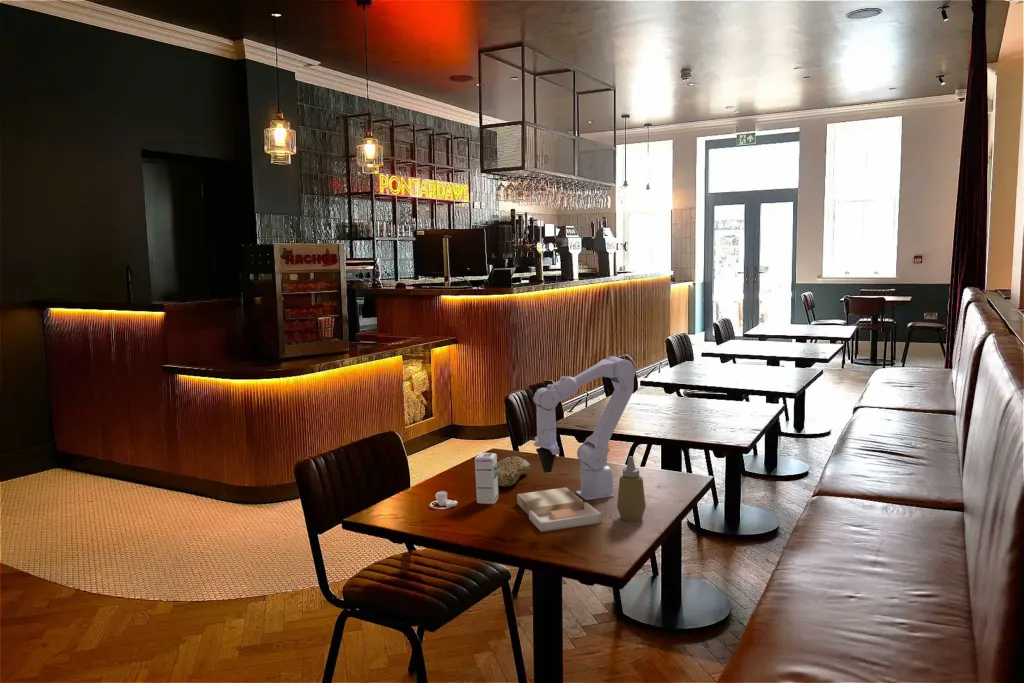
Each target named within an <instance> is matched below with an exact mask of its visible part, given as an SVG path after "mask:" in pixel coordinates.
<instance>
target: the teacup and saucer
mask: <svg viewBox="0 0 1024 683" xmlns="http://www.w3.org/2000/svg"><path fill="white" fill-rule="evenodd" d="M434 496H435V499H436V500H434V501H432V502H430V504H429V507H430V508H432V509H435V510H436V509H437V510H446V509H451V508H454V507H456V506H457V505H458V503H459V502H458V501H457V500H451V499H448V492H447V491H444V490H441V491H438V492H436V493H435V495H434ZM434 502H436V503H437V505H438V506H441V507H437V506H434V504H435V503H434ZM432 503H434V504H433V505H432ZM433 506H434V507H433ZM443 506H445V507H443Z"/></svg>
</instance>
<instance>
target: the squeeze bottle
mask: <svg viewBox="0 0 1024 683" xmlns="http://www.w3.org/2000/svg"><path fill="white" fill-rule="evenodd" d="M616 505H617V506H616V508H617V511H618V512H619V513H618V514H619V515H620V518H621V520H623V521H625V522H628V523H629V522H631V523H633V522H639V521H642V519H643V516H644V514H645V510H646V508H647V507H646V506H647V505H646V496H645V488H644V479H643V477H642V476H641V475H640V469H639V467H638V468H637V467H636V465H635V460H634V457H633V456H632V455H631V456H630V455H629V456H628V458H627V463H626V467H624V468H622V475H621V476H619V481H618V492H617V502H616Z"/></svg>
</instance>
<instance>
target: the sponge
mask: <svg viewBox="0 0 1024 683" xmlns="http://www.w3.org/2000/svg"><path fill="white" fill-rule="evenodd" d="M531 467H532V466H531V463H529V461H528V460H526V459H524V458H522V457H520V456H518V455H517V456H516V455H511V456H507V457H505V458H503V459H500V460H499V461H497V473H498V487H499V486H500V487H504V488H505V487H510V486H511V487H512V486H513V485H514V484H516V483H517V481H518V480H519V479H520V477H521V476H522V475H525V474H527V472H528V471H529V470H530V468H531Z"/></svg>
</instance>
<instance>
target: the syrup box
mask: <svg viewBox="0 0 1024 683" xmlns="http://www.w3.org/2000/svg"><path fill="white" fill-rule="evenodd" d="M497 462H498V454H497V452H496V453H495V452H479V453H478V455H476V457H475V458H474V468H475V469H474V472H475V475H474V476H475V488H476V490H475V491H476V492H475V493H476V494H475V495H476V503H477V504H484V505H495V504H496V502H498V499H499V495H500V494H499V485H498V473H497Z"/></svg>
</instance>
